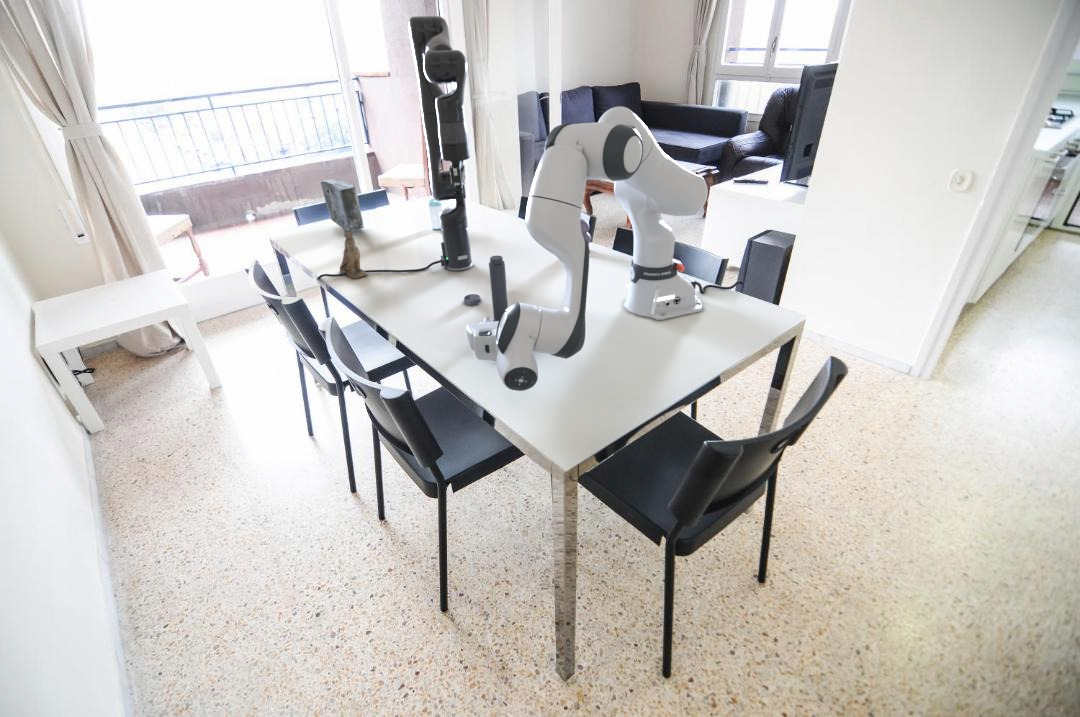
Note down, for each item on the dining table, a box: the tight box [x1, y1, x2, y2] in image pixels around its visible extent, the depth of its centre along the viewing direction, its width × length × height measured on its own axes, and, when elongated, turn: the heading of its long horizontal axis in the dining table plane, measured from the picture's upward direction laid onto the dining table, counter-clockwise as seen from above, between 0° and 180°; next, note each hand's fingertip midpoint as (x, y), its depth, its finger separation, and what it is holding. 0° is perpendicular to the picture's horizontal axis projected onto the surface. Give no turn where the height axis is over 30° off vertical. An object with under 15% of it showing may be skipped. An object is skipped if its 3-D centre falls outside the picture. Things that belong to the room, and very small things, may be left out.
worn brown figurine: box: [339, 230, 367, 280], centre depth 174 cm, size 12×6×18 cm, turn 43°
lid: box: [463, 293, 481, 306], centre depth 154 cm, size 5×5×2 cm
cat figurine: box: [580, 218, 592, 245], centre depth 188 cm, size 8×8×12 cm
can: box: [426, 198, 445, 230], centre depth 220 cm, size 7×7×12 cm
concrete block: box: [320, 178, 365, 232], centre depth 221 cm, size 27×9×20 cm, turn 36°
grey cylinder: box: [488, 255, 509, 322], centre depth 137 cm, size 4×4×19 cm
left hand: (461, 202), depth 138 cm, fingers open, 8 cm apart
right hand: (505, 317), depth 128 cm, fingers open, 8 cm apart
